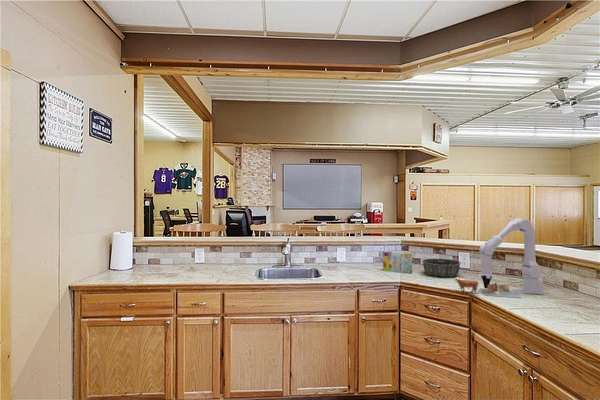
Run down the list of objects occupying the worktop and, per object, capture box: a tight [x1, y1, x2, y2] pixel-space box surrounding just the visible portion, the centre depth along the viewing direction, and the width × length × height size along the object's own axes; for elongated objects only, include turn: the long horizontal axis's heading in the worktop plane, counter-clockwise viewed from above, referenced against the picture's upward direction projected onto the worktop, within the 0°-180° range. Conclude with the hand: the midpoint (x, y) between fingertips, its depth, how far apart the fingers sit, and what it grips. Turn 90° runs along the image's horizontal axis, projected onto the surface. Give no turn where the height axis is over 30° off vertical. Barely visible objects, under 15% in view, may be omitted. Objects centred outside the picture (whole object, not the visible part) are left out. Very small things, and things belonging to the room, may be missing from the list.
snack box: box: [382, 250, 413, 274], centre depth 277 cm, size 21×6×15 cm, turn 58°
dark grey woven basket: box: [421, 257, 462, 278], centre depth 265 cm, size 26×26×10 cm
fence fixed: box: [494, 282, 510, 292], centre depth 215 cm, size 8×1×5 cm, turn 72°
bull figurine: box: [453, 276, 479, 295], centre depth 216 cm, size 4×13×8 cm, turn 51°
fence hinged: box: [487, 283, 495, 292], centre depth 214 cm, size 6×1×4 cm, turn 120°
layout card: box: [480, 288, 522, 299], centre depth 212 cm, size 18×16×1 cm
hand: (486, 288), depth 215 cm, fingers closed, pressing on fence hinged
